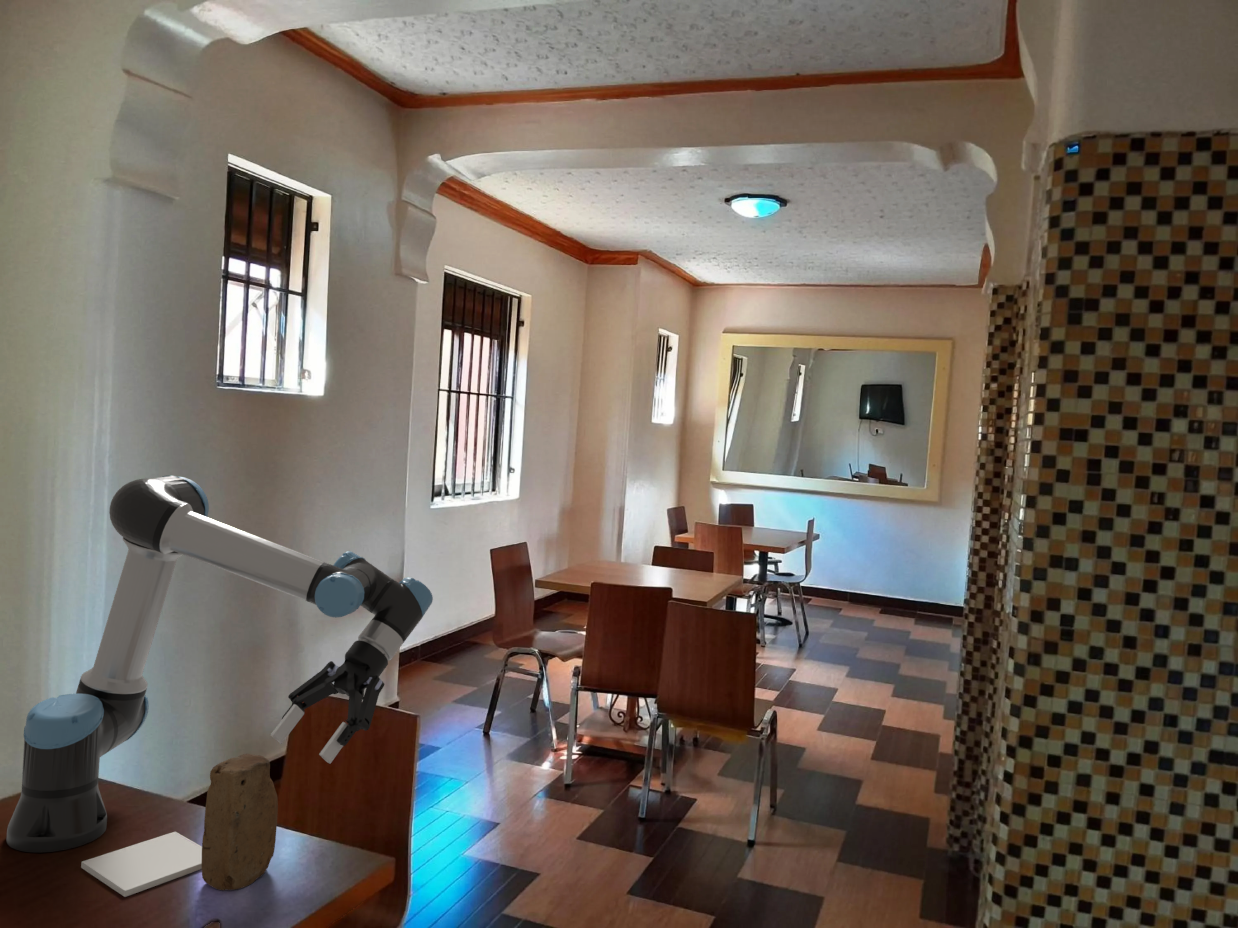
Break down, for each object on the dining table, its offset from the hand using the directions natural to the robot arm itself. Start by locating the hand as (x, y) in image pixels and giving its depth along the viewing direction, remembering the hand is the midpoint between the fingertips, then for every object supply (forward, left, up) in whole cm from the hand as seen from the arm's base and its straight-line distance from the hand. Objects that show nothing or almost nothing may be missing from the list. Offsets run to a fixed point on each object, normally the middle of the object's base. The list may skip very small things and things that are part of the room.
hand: (299, 749), depth 159 cm
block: (0, -10, -19) cm, 22 cm away
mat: (-14, -17, -19) cm, 29 cm away
